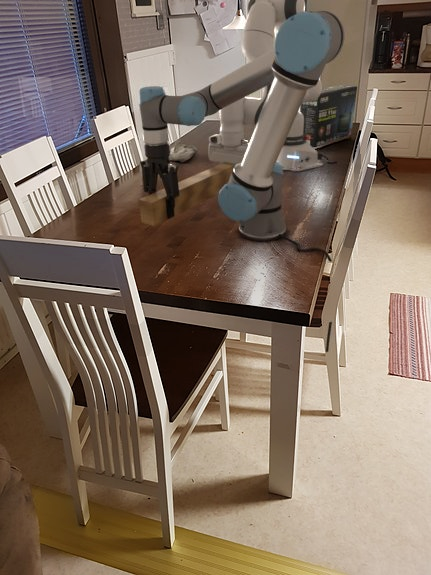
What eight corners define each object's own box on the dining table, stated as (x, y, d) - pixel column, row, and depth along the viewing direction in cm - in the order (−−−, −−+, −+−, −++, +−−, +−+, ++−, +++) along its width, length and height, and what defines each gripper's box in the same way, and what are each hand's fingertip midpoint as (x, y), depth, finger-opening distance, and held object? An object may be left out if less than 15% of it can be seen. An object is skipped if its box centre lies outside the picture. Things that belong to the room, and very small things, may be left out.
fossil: (184, 156, 217) (163, 136, 220) (174, 174, 223) (154, 154, 227) (205, 153, 231) (186, 134, 234) (195, 171, 237) (176, 152, 240)
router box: (314, 151, 231) (318, 94, 217) (296, 148, 237) (299, 92, 224) (352, 138, 251) (358, 85, 238) (335, 135, 258) (340, 83, 245)
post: (154, 226, 143) (151, 202, 139) (141, 222, 146) (138, 199, 142) (249, 178, 181) (249, 158, 177) (237, 176, 184) (237, 156, 180)
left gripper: (188, 143, 135) (193, 217, 147) (142, 136, 145) (150, 206, 157) (171, 149, 130) (178, 225, 142) (125, 142, 140) (134, 213, 152)
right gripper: (260, 139, 165) (260, 177, 172) (215, 133, 176) (216, 169, 183) (251, 143, 161) (251, 182, 168) (205, 137, 172) (206, 173, 179)
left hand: (163, 215), depth 149 cm, fingers closed on post, 6 cm apart
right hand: (232, 175), depth 176 cm, fingers closed on post, 5 cm apart
